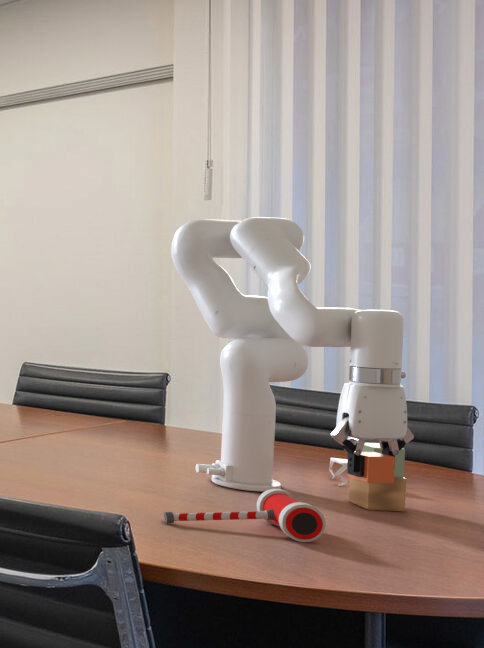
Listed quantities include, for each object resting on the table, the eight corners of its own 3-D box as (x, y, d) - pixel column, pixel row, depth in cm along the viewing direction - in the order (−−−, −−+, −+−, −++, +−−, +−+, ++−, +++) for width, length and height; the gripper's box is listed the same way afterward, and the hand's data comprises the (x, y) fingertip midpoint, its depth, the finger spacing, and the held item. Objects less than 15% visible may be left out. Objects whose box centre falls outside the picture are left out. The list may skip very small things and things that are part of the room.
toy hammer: (174, 532, 145) (176, 496, 145) (155, 514, 157) (157, 480, 156) (325, 544, 140) (327, 506, 140) (294, 524, 151) (296, 489, 151)
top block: (367, 482, 153) (368, 456, 153) (347, 477, 158) (348, 451, 158) (393, 483, 153) (395, 456, 153) (373, 477, 158) (374, 451, 158)
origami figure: (316, 482, 184) (318, 460, 183) (329, 477, 189) (330, 455, 189) (385, 494, 174) (386, 470, 174) (396, 488, 179) (398, 465, 179)
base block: (367, 509, 162) (369, 476, 162) (348, 501, 168) (350, 469, 168) (404, 511, 161) (406, 478, 161) (384, 502, 167) (386, 471, 167)
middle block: (372, 476, 162) (374, 447, 162) (353, 470, 167) (354, 442, 167) (403, 477, 161) (405, 448, 161) (382, 471, 167) (384, 443, 167)
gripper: (403, 375, 158) (399, 471, 159) (313, 374, 158) (310, 470, 159) (438, 379, 151) (433, 480, 152) (343, 379, 151) (339, 479, 152)
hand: (370, 474), depth 155 cm, fingers closed on top block, 4 cm apart
